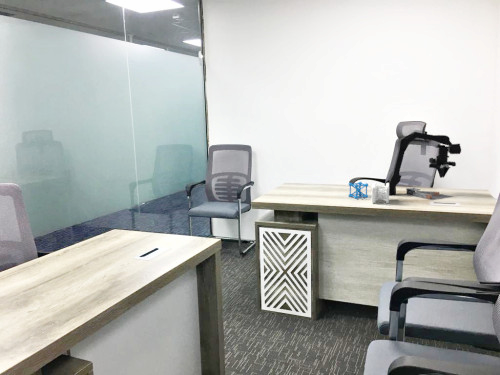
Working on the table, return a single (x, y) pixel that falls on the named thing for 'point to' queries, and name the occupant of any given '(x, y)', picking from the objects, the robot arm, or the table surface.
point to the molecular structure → (358, 190)
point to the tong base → (417, 193)
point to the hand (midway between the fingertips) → (441, 177)
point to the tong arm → (429, 193)
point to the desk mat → (436, 197)
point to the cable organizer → (380, 192)
